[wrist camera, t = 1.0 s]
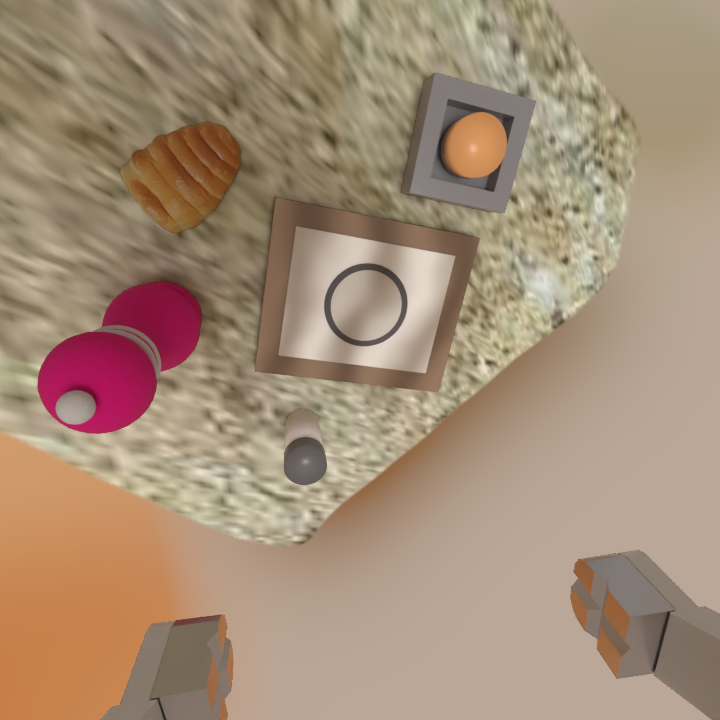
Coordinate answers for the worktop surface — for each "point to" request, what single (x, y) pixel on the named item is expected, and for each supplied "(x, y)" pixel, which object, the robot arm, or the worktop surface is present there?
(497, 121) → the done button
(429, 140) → the button base
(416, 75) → the worktop surface
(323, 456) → the marker
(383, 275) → the board
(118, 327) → the pepper mill
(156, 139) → the pastry
